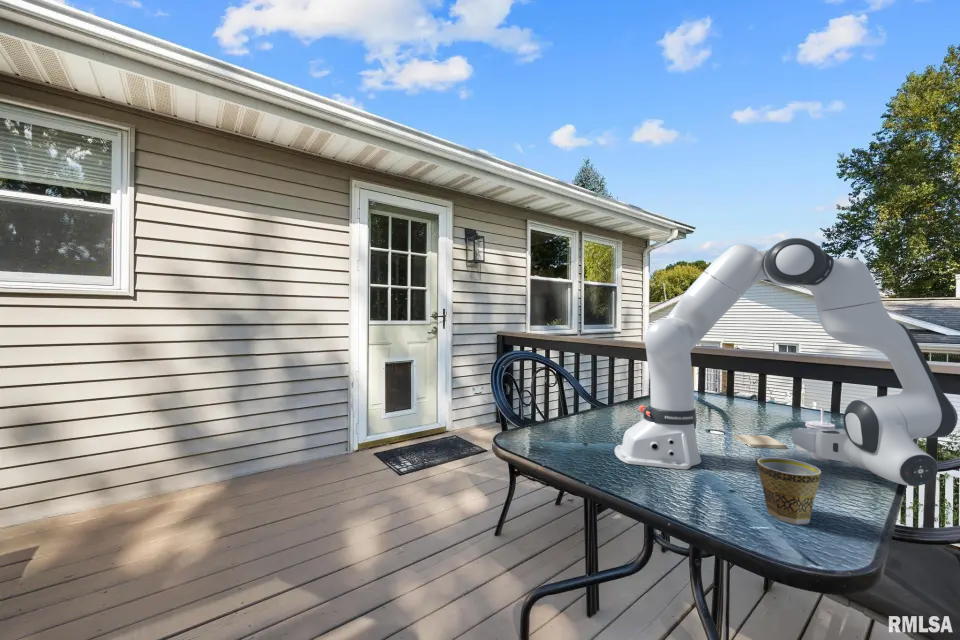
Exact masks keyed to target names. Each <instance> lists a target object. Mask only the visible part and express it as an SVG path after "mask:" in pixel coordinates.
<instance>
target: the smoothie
mask: <svg viewBox="0 0 960 640" xmlns="http://www.w3.org/2000/svg"><path fill="white" fill-rule="evenodd" d="M824 412H825V411H824V407H821V408H820V420H807V421H805V424H804V425H805V427H806V429H821V430H836V424H834V423H830V422H826V421H824V414H825V413H824ZM810 452H811V451H810ZM810 455H811V458H812V459H814V460H817V461H822V462H823V461H824V462H827V461H828V462H829V461H830V460H828V459H823V458H820V457H818V456H817V454H816V453H814V452H811V453H810Z"/></svg>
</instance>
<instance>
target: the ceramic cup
mask: <svg viewBox="0 0 960 640" xmlns="http://www.w3.org/2000/svg"><path fill="white" fill-rule="evenodd" d="M755 465H756V468H757V471H758V476H759V479H760V482H761V486H762V491H763V495H764V500H765V505H766V510H767V511H766V512H767V513H768V515H770V516H771V517H773V518H775V519H777V520H778V521H781V522H785V523H789V524H793V525H809V523H810V522H811V516H812V511H813V506H814V502H815V497H816V495H817V492H818V489H819V485H820V481H821V475H822V471H821V469H820V468H818V467H817V466H815V465H814V464H810V463H807V462H804V461H800V460H797V459H791V458H788V457H787V458H786V457H779V456H777V457H776V456H766V457H763V456H758V457H756V459H755Z"/></svg>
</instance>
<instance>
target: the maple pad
mask: <svg viewBox="0 0 960 640" xmlns="http://www.w3.org/2000/svg"><path fill="white" fill-rule="evenodd" d="M734 437H735V438H737V439H739V440H740V441H742V442H743V443H742V442H741V443H742V444H744V443H745V444H747V445H748V446H747V445H746V446H747V447H749V446H750V447H763V448H762V449H780V450H781V449H783V450H785V449H787V448H788V445H787V444H785V443H783V442H781V441H779V440H776V439H775V438H773V437H771V436H769V435H758V434H757V435H755V434H754V435H753V434H751V435H750V434H734V435H733V438H734ZM735 438H734V439H735ZM737 439H736V440H737ZM739 440H738V441H739ZM740 441H739V442H740ZM745 444H744V445H745ZM750 447H749V448H750Z"/></svg>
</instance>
